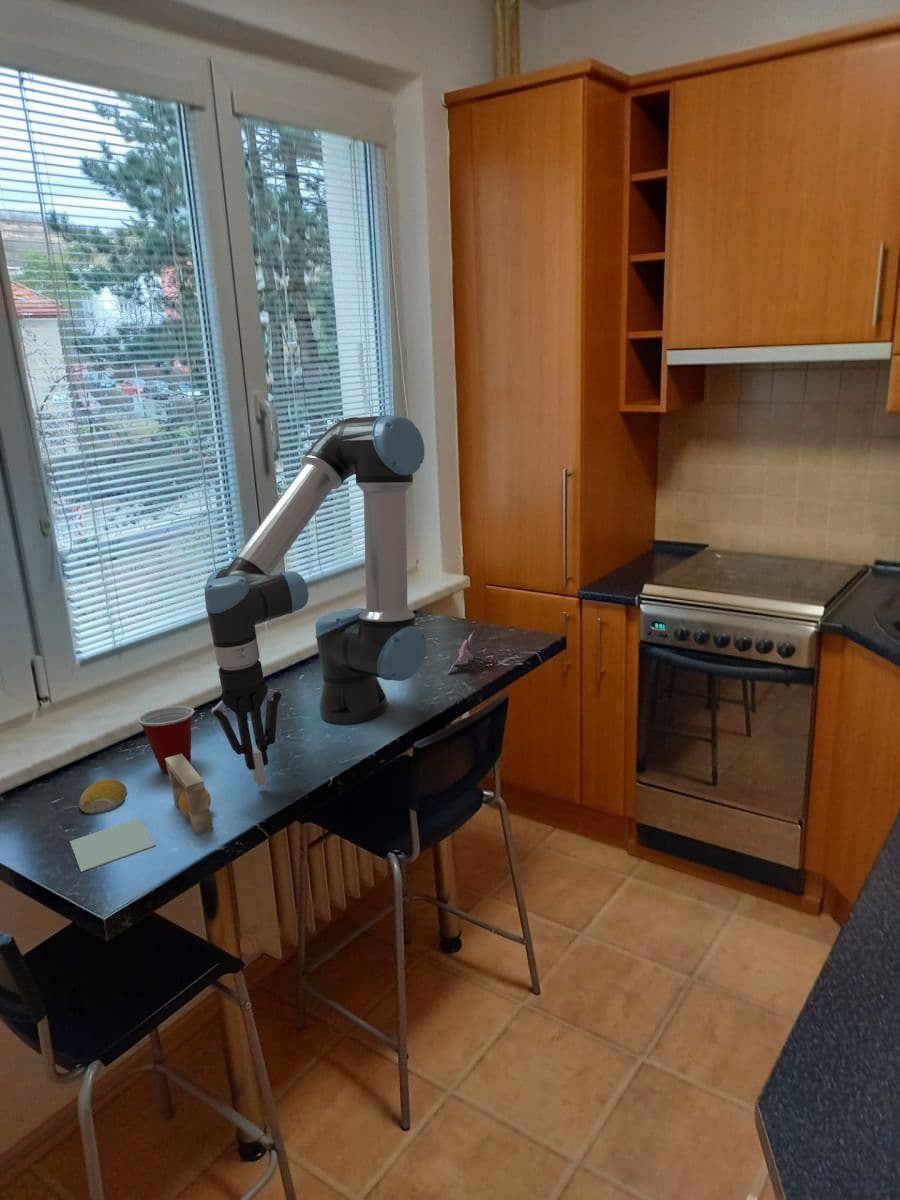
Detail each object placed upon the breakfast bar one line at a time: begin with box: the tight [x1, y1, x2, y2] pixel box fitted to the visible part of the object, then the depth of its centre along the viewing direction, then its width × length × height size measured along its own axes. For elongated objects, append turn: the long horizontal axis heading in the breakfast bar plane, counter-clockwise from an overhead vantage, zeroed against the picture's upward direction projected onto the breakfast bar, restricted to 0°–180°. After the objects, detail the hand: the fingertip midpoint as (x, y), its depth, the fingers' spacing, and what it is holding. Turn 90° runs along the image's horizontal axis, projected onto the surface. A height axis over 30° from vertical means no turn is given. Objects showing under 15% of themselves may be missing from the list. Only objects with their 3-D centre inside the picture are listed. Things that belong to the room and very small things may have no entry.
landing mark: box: [69, 817, 157, 873], centre depth 147 cm, size 12×12×1 cm
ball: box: [178, 788, 212, 818], centre depth 154 cm, size 6×6×6 cm
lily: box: [448, 630, 482, 673], centre depth 212 cm, size 12×12×10 cm
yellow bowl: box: [78, 778, 128, 814], centre depth 163 cm, size 8×9×4 cm
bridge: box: [165, 753, 214, 836], centre depth 153 cm, size 3×14×9 cm, turn 32°
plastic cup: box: [137, 705, 195, 775], centre depth 173 cm, size 11×11×12 cm
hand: (260, 782), depth 160 cm, fingers closed
